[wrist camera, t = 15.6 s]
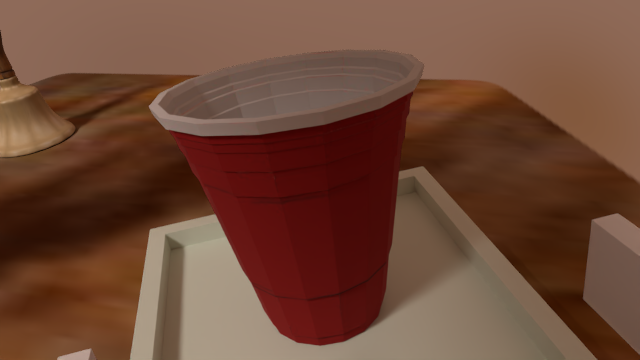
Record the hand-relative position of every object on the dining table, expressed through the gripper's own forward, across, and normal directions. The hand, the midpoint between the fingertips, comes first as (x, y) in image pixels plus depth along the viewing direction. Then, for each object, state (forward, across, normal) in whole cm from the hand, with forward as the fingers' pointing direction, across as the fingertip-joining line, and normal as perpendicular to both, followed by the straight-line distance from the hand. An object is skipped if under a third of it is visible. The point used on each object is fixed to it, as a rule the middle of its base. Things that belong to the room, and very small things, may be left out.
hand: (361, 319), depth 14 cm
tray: (+10, 0, -9) cm, 13 cm away
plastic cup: (+10, 0, -8) cm, 13 cm away
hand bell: (+48, -24, -9) cm, 54 cm away
